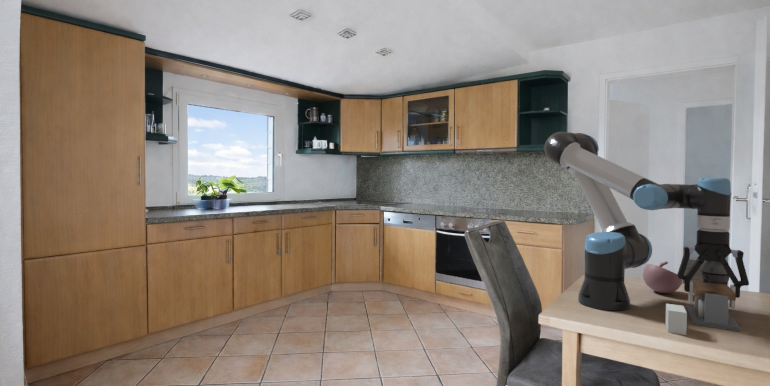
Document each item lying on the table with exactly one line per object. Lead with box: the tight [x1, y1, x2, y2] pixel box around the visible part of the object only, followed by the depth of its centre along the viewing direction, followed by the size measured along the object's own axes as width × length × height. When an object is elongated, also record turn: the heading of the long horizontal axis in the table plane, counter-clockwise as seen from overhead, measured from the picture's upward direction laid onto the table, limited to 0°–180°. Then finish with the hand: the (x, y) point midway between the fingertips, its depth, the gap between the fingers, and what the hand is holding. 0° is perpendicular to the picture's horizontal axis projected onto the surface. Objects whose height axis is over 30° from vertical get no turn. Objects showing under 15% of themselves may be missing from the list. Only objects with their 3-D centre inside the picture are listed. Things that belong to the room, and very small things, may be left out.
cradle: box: [685, 293, 741, 332], centre depth 119 cm, size 10×17×9 cm, turn 149°
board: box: [691, 280, 737, 302], centre depth 119 cm, size 9×11×2 cm
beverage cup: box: [700, 261, 730, 286], centre depth 128 cm, size 7×7×20 cm
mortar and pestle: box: [642, 261, 684, 294], centre depth 146 cm, size 12×12×12 cm
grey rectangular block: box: [664, 303, 688, 336], centre depth 110 cm, size 4×7×6 cm, turn 149°
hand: (710, 305), depth 119 cm, fingers closed on board, 9 cm apart
